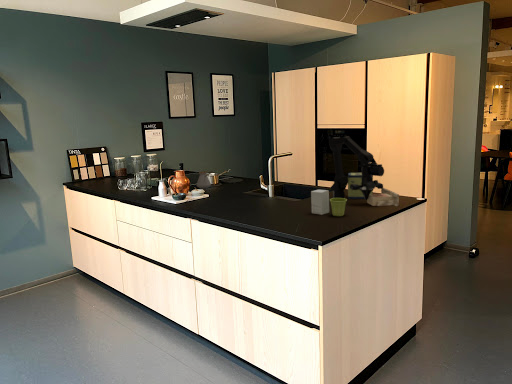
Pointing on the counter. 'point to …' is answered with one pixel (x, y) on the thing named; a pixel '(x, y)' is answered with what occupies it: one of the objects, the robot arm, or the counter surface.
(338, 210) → the plant pot
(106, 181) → the counter surface
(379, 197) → the beige rectangular block
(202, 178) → the coffee pot
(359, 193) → the protein box
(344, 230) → the counter surface
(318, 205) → the supplement box
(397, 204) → the display nook
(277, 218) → the counter surface
